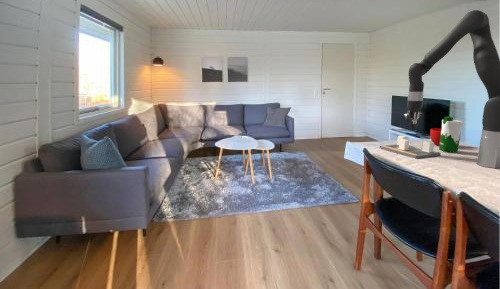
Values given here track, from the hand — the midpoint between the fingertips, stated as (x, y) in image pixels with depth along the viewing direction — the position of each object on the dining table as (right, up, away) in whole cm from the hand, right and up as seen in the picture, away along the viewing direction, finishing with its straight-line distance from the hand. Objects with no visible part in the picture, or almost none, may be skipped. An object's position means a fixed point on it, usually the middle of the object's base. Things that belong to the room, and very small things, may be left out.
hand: (412, 130), depth 168 cm
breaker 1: (0, -9, +12) cm, 15 cm away
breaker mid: (-5, -11, +1) cm, 12 cm away
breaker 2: (+6, -12, -5) cm, 14 cm away
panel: (-1, -12, +3) cm, 13 cm away
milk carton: (+23, -12, +4) cm, 26 cm away
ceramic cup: (+30, -9, +18) cm, 37 cm away
